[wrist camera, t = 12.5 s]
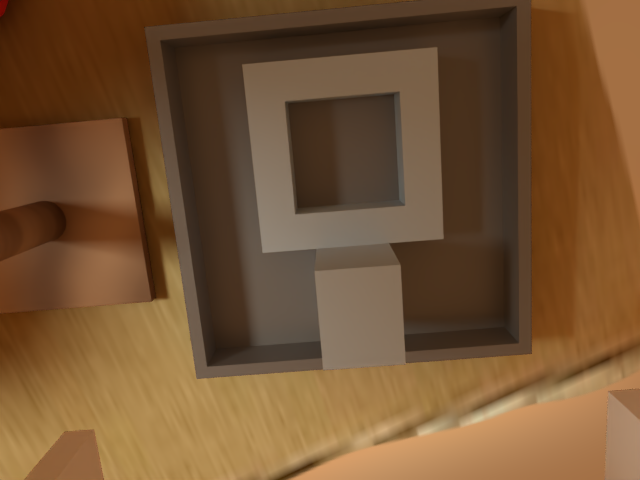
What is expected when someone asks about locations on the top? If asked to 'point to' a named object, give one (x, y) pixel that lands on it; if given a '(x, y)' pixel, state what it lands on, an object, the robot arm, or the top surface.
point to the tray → (350, 179)
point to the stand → (71, 218)
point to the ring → (359, 218)
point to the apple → (3, 6)
